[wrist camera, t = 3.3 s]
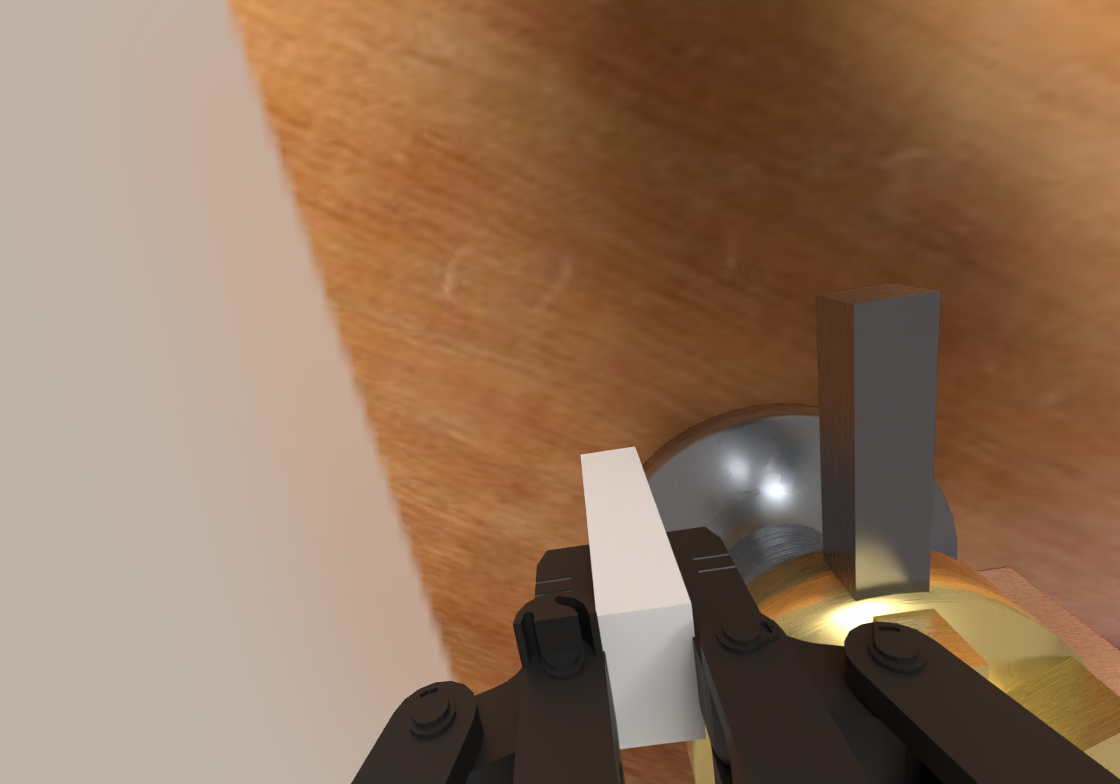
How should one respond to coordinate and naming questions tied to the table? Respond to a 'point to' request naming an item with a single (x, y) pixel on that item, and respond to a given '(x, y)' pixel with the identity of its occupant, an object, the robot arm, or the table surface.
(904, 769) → the robot arm
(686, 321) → the table surface
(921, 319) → the gold studded disc
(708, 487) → the nut base
